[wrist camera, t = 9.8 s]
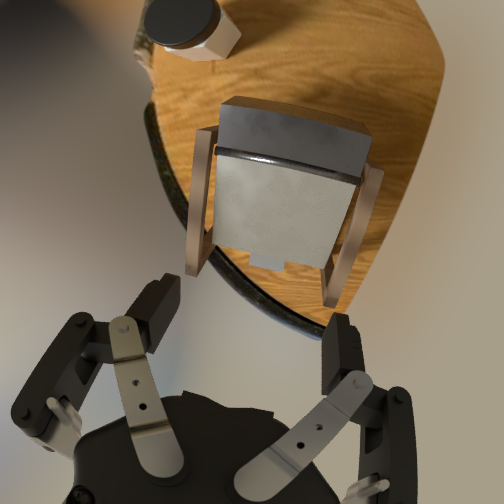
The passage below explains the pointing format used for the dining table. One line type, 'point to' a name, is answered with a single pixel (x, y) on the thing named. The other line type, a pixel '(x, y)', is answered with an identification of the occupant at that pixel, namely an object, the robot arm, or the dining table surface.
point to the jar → (192, 28)
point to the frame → (202, 247)
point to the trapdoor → (284, 178)
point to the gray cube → (267, 262)
